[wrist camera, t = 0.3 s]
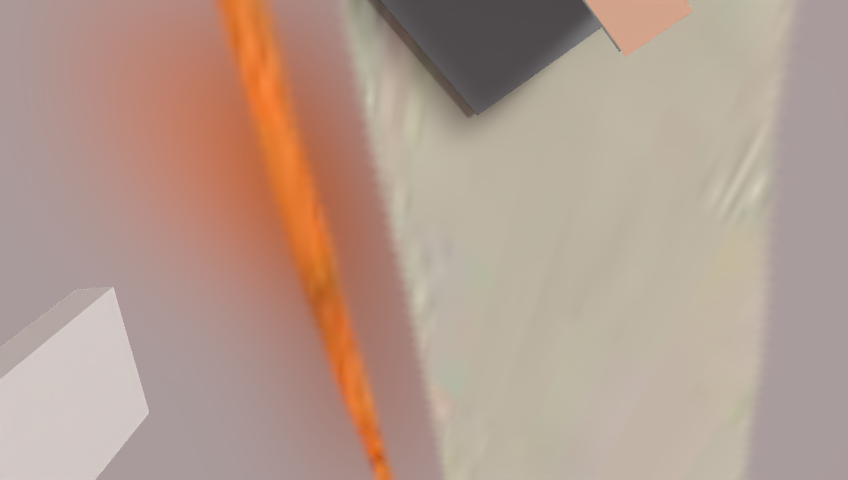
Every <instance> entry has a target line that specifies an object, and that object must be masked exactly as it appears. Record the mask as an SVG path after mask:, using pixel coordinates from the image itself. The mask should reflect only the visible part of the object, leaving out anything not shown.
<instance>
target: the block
mask: <svg viewBox="0 0 848 480" xmlns="http://www.w3.org/2000/svg"><path fill="white" fill-rule="evenodd" d="M582 1H583V2H584V3H585V5H586V6H587V8H588V9H589V10H590V12H591V13H592V14H593V16H594V17H595V19H596V20H597V21H598V23H599V24H600V26H601V27H602V28H603V30H604V31H605V32H606V34H607V35H608V37H609V38H610V39H611V41H612V42H613V43H614V45H615V46H616V48H617V49H618V50H619V52H620V51H622V52H623V54H624V55H625V56H627V55H629V54H630V53H631V52H633V51H634V50H636V49H637V48H639V47H640V46H642V45H643V44H645V43H646V42H648V41H649V40H651V39H652V38H654V37H655V36H657V35H658V34H660V33H661V32H663V31H664V30H665V29H667V28H668V27H670V26H671V25H673V24H674V23H676V22H677V21H679V20H680V19H682V18H683V17H685V16H686V15H688V14H689V13H691V12H692V9H691V7H690V5H689V3H688V1H687V0H582Z"/></svg>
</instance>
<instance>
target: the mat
mask: <svg viewBox="0 0 848 480" xmlns="http://www.w3.org/2000/svg"><path fill="white" fill-rule="evenodd" d="M380 1H381V2H382V3H383V4H384V5H385V7H386V8H387V9H388V10H389V11H390V13H391V14H392V15H393V16H394V17H395V18H396V20H397V21H398V22H399V23H400V24H401V26H402V27H403V28H404V29H405V30H406V31H407V33H408V34H409V35H410V36H411V37H412V39H413V40H414V41H415V42H416V43H417V44H418V46H419V47H420V48H421V49H422V50H423V51H424V53H425V54H426V55H427V56H428V57H429V59H430V60H431V61H432V62H433V63H434V64H435V66H436V67H437V68H438V69H439V70H440V72H441V73H442V74H443V75H444V76H445V77H446V79H447V80H448V81H449V82H450V83H451V85H452V86H453V87H454V88H455V89H456V90H457V92H458V93H459V94H460V95H461V96H462V98H463V99H464V100H465V101H466V102H467V103H468V105H469V106H470V107H471V108H472V109H473V111H474V112H475V113H476V114H477V115H478V114H480V113H481V112H483V111H484V110H485V109H487V108H488V107H490V106H491V105H492V104H494V103H495V102H497V101H498V100H500V99H501V98H502V97H504V96H505V95H507V94H508V93H509V92H511V91H512V90H514V89H515V88H516V87H518V86H519V85H521V84H522V83H524V82H525V81H526V80H528V79H529V78H531V77H532V76H533V75H535V74H536V73H538V72H539V71H540V70H542V69H543V68H545V67H546V66H548V65H549V64H550V63H552V62H553V61H555V60H556V59H557V58H559V57H560V56H562V55H563V54H565V53H566V52H567V51H569V50H570V49H572V48H573V47H574V46H576V45H577V44H579V43H580V42H581V41H583V40H584V39H586V38H587V37H589V36H590V35H591V34H593V33H594V32H596V31H597V30H598V29H600V28H601V26H600V24H599V23H598V21H597V20H596V19H595V17H594V16H593V14H592V13H591V12H590V10H589V9H588V8H587V6H586V5H585V3H584V2H583V1H582V0H380Z"/></svg>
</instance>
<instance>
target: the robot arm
mask: <svg viewBox="0 0 848 480" xmlns="http://www.w3.org/2000/svg"><path fill="white" fill-rule="evenodd" d="M148 414H149V410H148V406H147V403H146V399H145V396H144V393H143V389H142V385H141V382H140V379H139V375H138V372H137V368H136V365H135V361H134V358H133V354H132V351H131V347H130V344H129V340H128V337H127V333H126V330H125V326H124V323H123V320H122V316H121V312H120V309H119V305H118V302H117V298H116V295H115V291H114V288H113V287H101V288H85V289H75V290H74V291H73V292H71V293H70V294H68V295H67V296H66V297H65V298H63V299H62V300H61V301H59V302H58V303H57V304H55V305H54V306H53V307H51V308H50V309H49V310H47V311H46V312H45V313H43V314H42V315H41V316H39V317H38V318H37V319H35V320H34V321H33V322H32V323H30V324H29V325H28V326H26V327H25V328H24V329H22V330H21V331H20V332H18V333H17V334H16V335H14V336H13V337H12V338H11V339H9V340H8V341H7V342H5V343H4V344H2V345H1V346H0V480H96V478H97V477H98V476H99V475H100V473H101V472H102V471H103V470H104V468H105V467H106V466H107V465H108V463H109V462H110V461H111V460H112V458H113V457H114V456H115V455H116V454H117V452H118V451H119V450H120V449H121V447H122V446H123V445H124V443H125V442H126V441H127V440H128V439H129V438H130V436H131V435H132V434H133V433H134V431H135V430H136V429H137V427H138V426H139V425H140V424H141V423H142V421H143V420H144V419H145V418H146V417H147V415H148Z"/></svg>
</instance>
